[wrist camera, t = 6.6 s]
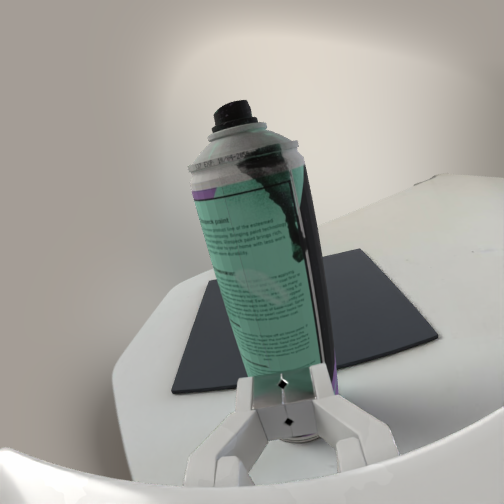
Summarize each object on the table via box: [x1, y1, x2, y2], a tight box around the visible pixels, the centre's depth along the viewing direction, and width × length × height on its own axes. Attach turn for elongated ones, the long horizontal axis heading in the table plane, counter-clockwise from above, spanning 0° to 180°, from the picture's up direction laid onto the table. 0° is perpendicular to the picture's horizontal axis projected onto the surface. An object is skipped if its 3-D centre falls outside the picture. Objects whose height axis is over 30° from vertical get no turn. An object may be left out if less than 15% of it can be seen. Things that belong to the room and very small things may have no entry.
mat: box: [171, 249, 438, 394], centre depth 34 cm, size 24×24×1 cm
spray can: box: [188, 100, 339, 443], centre depth 16 cm, size 6×6×20 cm
